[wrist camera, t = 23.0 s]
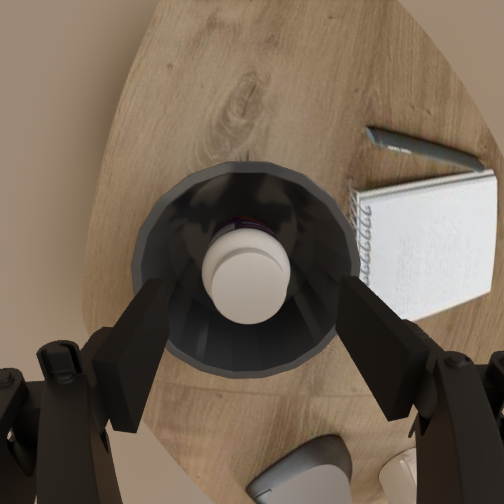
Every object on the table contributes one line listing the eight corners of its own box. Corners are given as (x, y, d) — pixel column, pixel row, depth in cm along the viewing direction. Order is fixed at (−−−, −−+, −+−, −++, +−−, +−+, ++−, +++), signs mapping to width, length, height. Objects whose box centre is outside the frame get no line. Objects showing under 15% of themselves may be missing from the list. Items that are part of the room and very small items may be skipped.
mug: (426, 466, 37) (448, 504, 28) (377, 488, 38) (395, 529, 28) (434, 425, 34) (463, 467, 25) (377, 450, 35) (401, 499, 25)
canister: (160, 167, 24) (125, 165, 16) (323, 167, 25) (366, 166, 17) (169, 318, 28) (147, 376, 19) (315, 316, 28) (346, 371, 20)
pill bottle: (289, 246, 26) (321, 288, 17) (244, 291, 27) (250, 353, 17) (242, 199, 25) (247, 217, 16) (195, 248, 26) (175, 292, 16)
